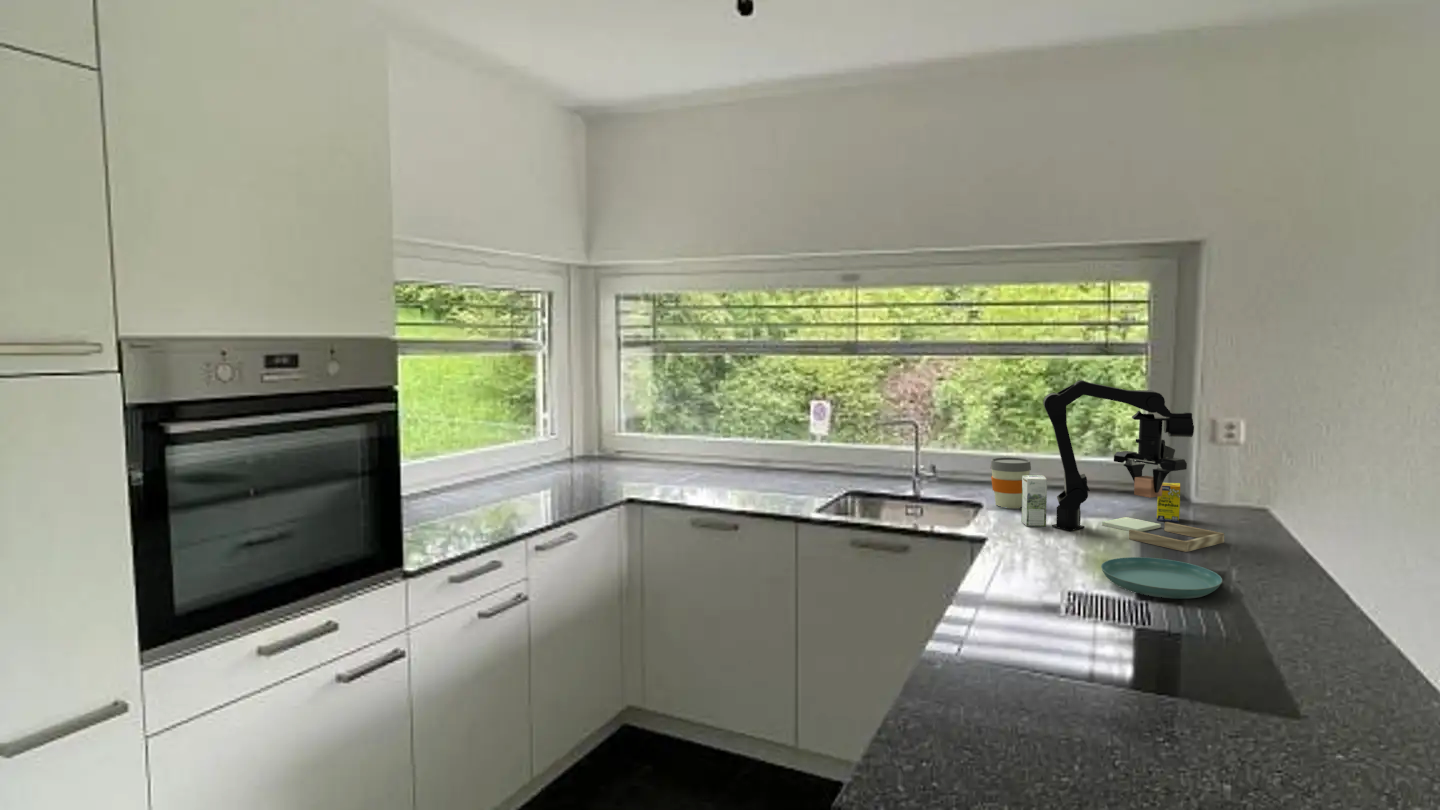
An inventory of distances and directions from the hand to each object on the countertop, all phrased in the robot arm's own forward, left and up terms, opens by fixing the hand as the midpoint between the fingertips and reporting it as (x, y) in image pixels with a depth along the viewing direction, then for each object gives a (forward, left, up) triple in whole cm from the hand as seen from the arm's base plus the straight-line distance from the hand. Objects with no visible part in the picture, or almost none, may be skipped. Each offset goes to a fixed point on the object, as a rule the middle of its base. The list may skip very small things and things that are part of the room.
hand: (1147, 490), depth 234 cm
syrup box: (-19, +23, -12) cm, 32 cm away
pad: (+2, +6, -12) cm, 13 cm away
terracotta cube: (0, 0, -1) cm, 1 cm away
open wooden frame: (-3, -10, -12) cm, 15 cm away
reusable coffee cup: (-4, +45, -12) cm, 47 cm away
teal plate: (-42, -31, -12) cm, 53 cm away
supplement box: (+18, +5, -12) cm, 22 cm away
